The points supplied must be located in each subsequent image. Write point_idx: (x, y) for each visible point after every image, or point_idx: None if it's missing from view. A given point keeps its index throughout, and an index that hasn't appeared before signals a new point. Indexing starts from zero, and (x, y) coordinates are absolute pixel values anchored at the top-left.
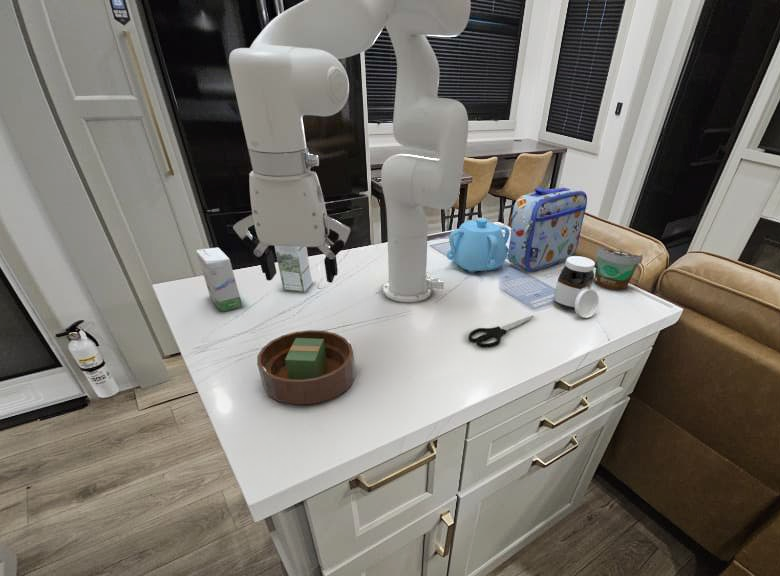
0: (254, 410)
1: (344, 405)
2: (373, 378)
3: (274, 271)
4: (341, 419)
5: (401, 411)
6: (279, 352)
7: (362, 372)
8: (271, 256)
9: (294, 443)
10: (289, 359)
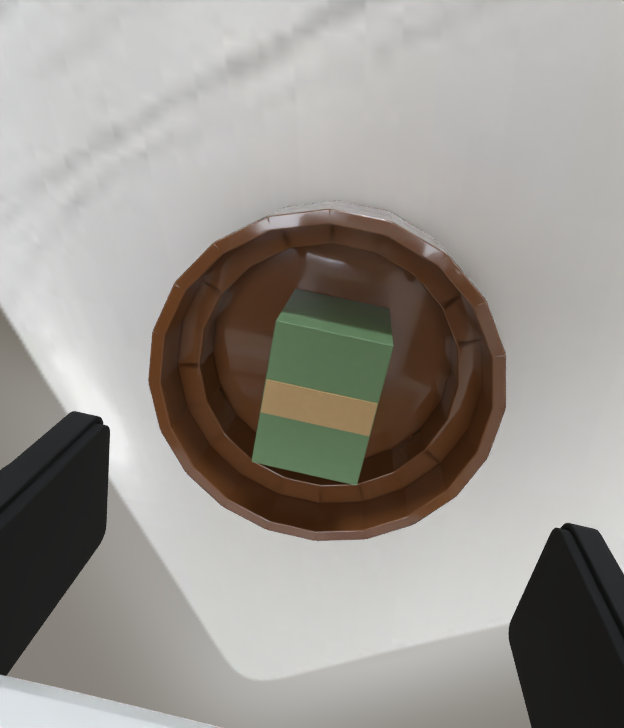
0: None
1: None
2: (541, 389)
3: (95, 470)
4: (414, 540)
5: None
6: (214, 277)
7: (509, 349)
8: (13, 550)
9: (300, 586)
10: (267, 464)
